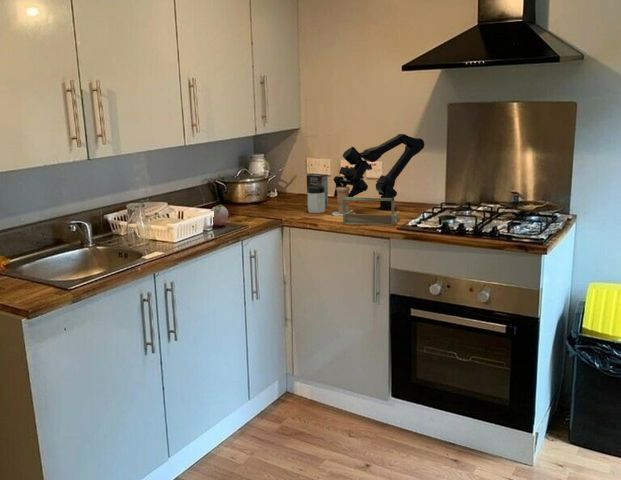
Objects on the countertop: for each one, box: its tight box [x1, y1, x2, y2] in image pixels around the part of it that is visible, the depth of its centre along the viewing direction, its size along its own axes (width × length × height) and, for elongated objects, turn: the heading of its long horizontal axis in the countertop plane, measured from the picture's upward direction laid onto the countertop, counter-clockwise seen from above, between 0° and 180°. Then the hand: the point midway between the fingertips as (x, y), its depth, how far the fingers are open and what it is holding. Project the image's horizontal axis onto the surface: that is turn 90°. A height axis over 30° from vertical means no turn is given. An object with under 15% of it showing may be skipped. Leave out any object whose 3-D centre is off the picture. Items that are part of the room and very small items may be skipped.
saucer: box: [331, 210, 356, 217], centre depth 297 cm, size 11×11×1 cm
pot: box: [335, 186, 351, 214], centre depth 296 cm, size 6×6×12 cm
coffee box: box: [306, 173, 329, 208], centre depth 318 cm, size 9×6×16 cm
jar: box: [306, 186, 326, 214], centre depth 305 cm, size 9×8×12 cm
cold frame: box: [342, 196, 401, 227], centre depth 277 cm, size 16×22×12 cm
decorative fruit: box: [210, 203, 229, 227], centre depth 278 cm, size 9×8×10 cm
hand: (341, 197), depth 295 cm, fingers open, 9 cm apart
